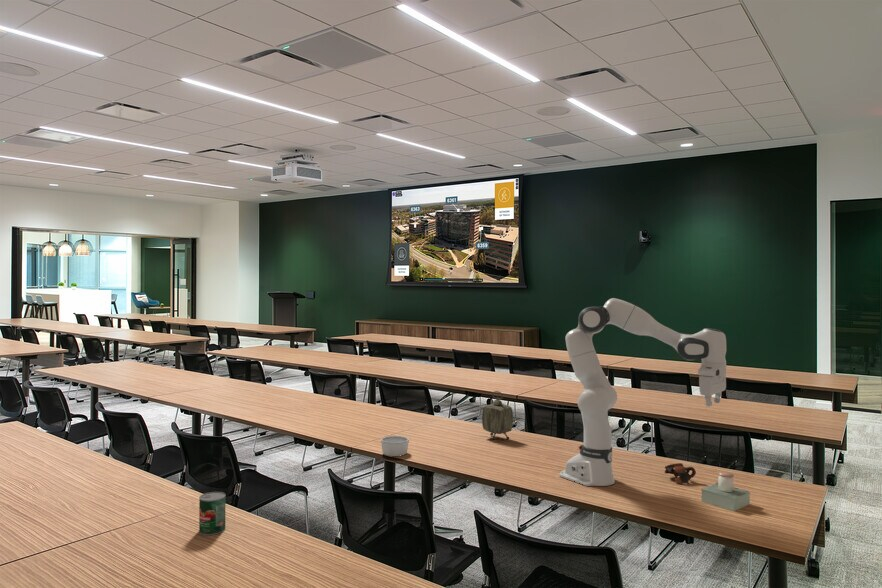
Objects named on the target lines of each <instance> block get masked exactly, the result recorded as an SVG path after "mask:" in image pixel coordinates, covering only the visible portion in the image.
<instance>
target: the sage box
mask: <svg viewBox="0 0 882 588" xmlns="http://www.w3.org/2000/svg"><path fill="white" fill-rule="evenodd" d="M750 494H751V491H749V490H745V489H741V488H739V487H735V486H733V492H724V491H721V490H719V489H718V482H716V483H713V484H710V485H707V486H705V487H703V488H701V502H703V503H704V504H705V503H706V504H709V505H711V506H715V507H718V508H722V509H726V510H729V511H732V512H736V511H738V510H740V509H742V508H745V507H746V506H749V505H750V502H751V500H750V499H751V497H750V496H751V495H750Z"/></svg>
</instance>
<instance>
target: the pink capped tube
mask: <svg viewBox="0 0 882 588" xmlns="http://www.w3.org/2000/svg"><path fill="white" fill-rule="evenodd" d="M717 474H718V477H717V478H718V481H717V483H718V489H719V490H721V491H724V492H733V487H734V477H735V474H734V473H732V472H728V471H718V473H717Z"/></svg>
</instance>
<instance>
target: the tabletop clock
mask: <svg viewBox="0 0 882 588" xmlns="http://www.w3.org/2000/svg"><path fill="white" fill-rule="evenodd" d="M495 393H496V394H497V393H498V394H500V395H501V397H499V396H496V397H495V396H494V394H495ZM491 396H492V397H493V399H494V400H493V401H492V404H486V405H484V406H483V408H482V415H481V423H482V429H483V430H484V431H487V432H488V433H490V434H489V435H490V436H491V435H493V437H492V439H493V440H494V439H495V440H496V435H502V434H503V435H504V436H505V437H506V440H507V439H509V440H510V437H509V436H508V435H507V433H508V432H512V430H513V427H514V426H513V425H514V424H513V423H514V414H513V413H514V411H513V408H512V407H511V406H510V405H508V404H504V403H503V402H502V401H501V400H502V399H503V398H504V395H503V393H502V392H501V391H500V390H499V391H498V390H496V391H495V390H494V391H493V392H492V395H491Z"/></svg>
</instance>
